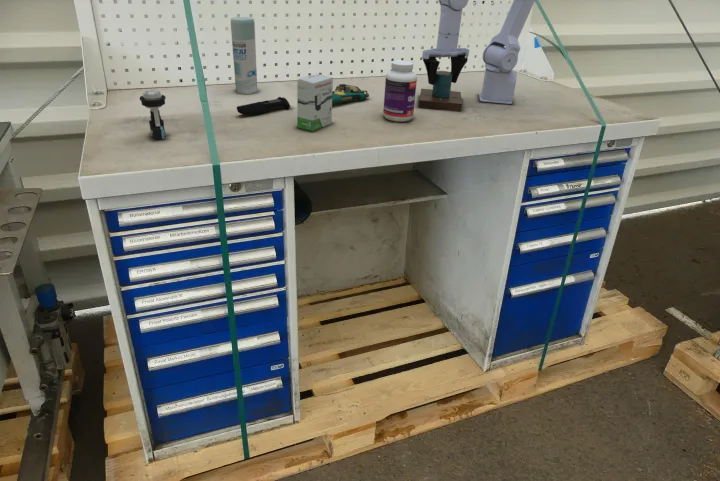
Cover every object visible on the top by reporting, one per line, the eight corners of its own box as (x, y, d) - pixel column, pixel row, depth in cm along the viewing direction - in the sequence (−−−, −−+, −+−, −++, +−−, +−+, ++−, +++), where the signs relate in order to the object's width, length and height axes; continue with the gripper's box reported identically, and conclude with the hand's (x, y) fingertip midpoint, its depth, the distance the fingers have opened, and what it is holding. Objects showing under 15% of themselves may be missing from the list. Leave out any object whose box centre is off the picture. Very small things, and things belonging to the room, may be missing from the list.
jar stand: (420, 95, 160) (421, 87, 159) (459, 99, 159) (460, 91, 158) (418, 107, 149) (419, 99, 148) (460, 111, 148) (462, 103, 147)
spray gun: (353, 92, 162) (376, 108, 151) (303, 93, 155) (322, 109, 144) (355, 78, 160) (378, 93, 149) (304, 78, 153) (324, 94, 142)
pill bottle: (411, 124, 136) (416, 67, 129) (380, 121, 137) (384, 64, 130) (414, 115, 143) (420, 60, 136) (385, 112, 144) (389, 58, 137)
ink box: (312, 132, 127) (312, 82, 121) (296, 127, 130) (295, 79, 123) (332, 123, 134) (333, 75, 128) (317, 119, 136) (317, 72, 130)
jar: (432, 92, 156) (434, 69, 152) (449, 94, 155) (452, 70, 152) (431, 97, 151) (434, 73, 148) (449, 98, 151) (453, 74, 147)
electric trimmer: (234, 116, 136) (233, 104, 134) (283, 105, 145) (282, 94, 143) (242, 120, 133) (241, 107, 132) (291, 109, 143) (291, 97, 141)
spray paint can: (262, 91, 156) (259, 19, 146) (247, 95, 152) (242, 21, 141) (246, 87, 159) (241, 16, 149) (230, 91, 155) (225, 18, 144)
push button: (143, 132, 122) (135, 89, 116) (166, 129, 124) (160, 87, 119) (148, 141, 117) (141, 97, 112) (173, 138, 119) (167, 94, 114)
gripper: (434, 36, 138) (428, 88, 145) (478, 34, 144) (471, 84, 151) (420, 32, 144) (415, 82, 151) (463, 30, 150) (456, 78, 157)
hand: (442, 83), depth 151 cm, fingers open, 7 cm apart
